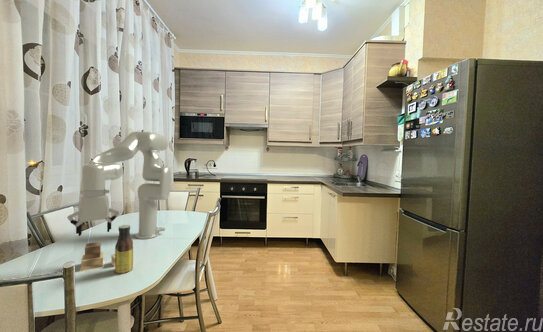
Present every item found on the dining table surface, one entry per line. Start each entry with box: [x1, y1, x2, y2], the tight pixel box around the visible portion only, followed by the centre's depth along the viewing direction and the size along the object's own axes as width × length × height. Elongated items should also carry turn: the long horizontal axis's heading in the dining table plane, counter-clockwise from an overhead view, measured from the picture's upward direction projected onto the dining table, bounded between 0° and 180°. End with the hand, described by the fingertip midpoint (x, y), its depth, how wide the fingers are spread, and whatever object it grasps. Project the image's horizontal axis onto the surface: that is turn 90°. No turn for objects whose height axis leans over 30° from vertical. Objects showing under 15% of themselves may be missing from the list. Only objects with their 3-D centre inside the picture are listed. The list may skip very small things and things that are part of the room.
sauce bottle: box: [114, 224, 134, 275], centre depth 95 cm, size 6×6×20 cm
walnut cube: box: [84, 241, 102, 260], centre depth 98 cm, size 5×5×5 cm
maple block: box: [110, 253, 115, 268], centre depth 101 cm, size 4×4×4 cm
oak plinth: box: [80, 251, 104, 272], centre depth 98 cm, size 7×7×4 cm
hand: (94, 232), depth 98 cm, fingers open, 9 cm apart
